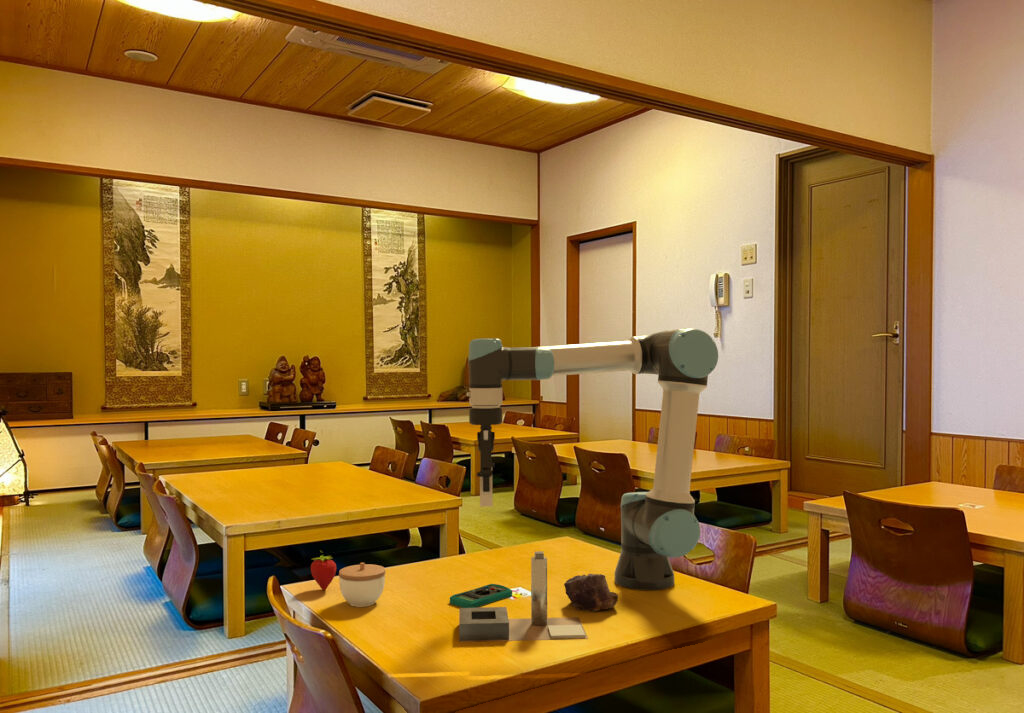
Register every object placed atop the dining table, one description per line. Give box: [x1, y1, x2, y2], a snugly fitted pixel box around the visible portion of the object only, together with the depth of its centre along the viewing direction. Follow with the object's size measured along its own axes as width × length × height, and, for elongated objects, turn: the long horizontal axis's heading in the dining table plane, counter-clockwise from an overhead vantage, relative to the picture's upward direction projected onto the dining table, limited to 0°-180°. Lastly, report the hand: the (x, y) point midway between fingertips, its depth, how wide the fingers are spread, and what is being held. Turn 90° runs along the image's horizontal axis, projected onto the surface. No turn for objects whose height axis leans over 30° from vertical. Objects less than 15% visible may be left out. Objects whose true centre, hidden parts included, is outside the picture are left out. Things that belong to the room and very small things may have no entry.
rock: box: [563, 573, 619, 613], centre depth 175 cm, size 12×9×10 cm
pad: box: [548, 625, 585, 639], centre depth 158 cm, size 7×6×1 cm
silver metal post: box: [530, 550, 548, 626], centre depth 164 cm, size 3×3×15 cm
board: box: [458, 616, 589, 643], centre depth 161 cm, size 26×13×1 cm, turn 93°
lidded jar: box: [338, 562, 386, 608], centre depth 181 cm, size 11×11×9 cm
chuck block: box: [458, 606, 509, 641], centre depth 159 cm, size 10×10×3 cm
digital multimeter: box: [449, 583, 513, 608], centre depth 181 cm, size 7×15×3 cm, turn 137°
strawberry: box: [310, 550, 337, 591], centre depth 191 cm, size 6×8×10 cm
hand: (486, 500), depth 174 cm, fingers open, 13 cm apart
